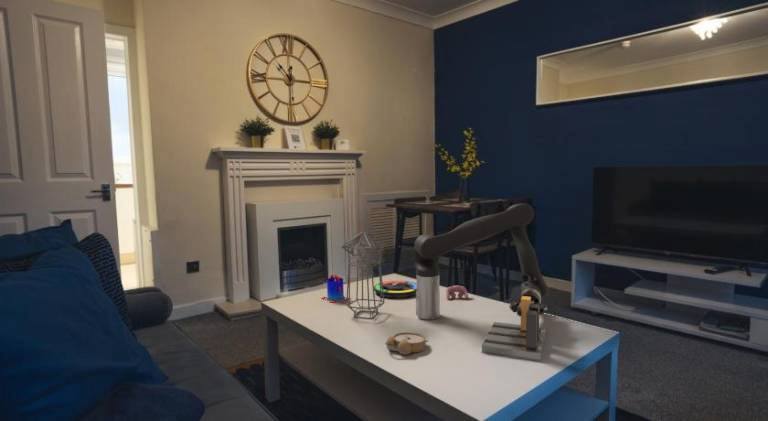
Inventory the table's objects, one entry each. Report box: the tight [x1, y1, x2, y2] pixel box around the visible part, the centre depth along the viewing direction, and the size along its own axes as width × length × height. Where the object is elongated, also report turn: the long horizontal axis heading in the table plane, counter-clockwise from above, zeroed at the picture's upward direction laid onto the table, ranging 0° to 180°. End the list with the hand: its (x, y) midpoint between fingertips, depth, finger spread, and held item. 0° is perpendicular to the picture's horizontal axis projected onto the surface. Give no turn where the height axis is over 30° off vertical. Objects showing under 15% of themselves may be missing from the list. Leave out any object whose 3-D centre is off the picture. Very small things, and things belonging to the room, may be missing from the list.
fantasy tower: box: [320, 274, 352, 305], centre depth 203 cm, size 12×12×12 cm
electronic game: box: [374, 280, 417, 299], centre depth 212 cm, size 23×23×5 cm
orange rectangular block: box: [520, 296, 531, 330], centre depth 152 cm, size 3×4×11 cm
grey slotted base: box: [481, 304, 547, 362], centre depth 146 cm, size 18×23×14 cm
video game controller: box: [445, 285, 469, 301], centre depth 200 cm, size 10×5×7 cm, turn 86°
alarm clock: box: [384, 331, 429, 356], centre depth 145 cm, size 11×5×15 cm
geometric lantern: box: [340, 231, 388, 320], centre depth 179 cm, size 16×16×35 cm
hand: (525, 314), depth 149 cm, fingers closed on orange rectangular block, 3 cm apart
